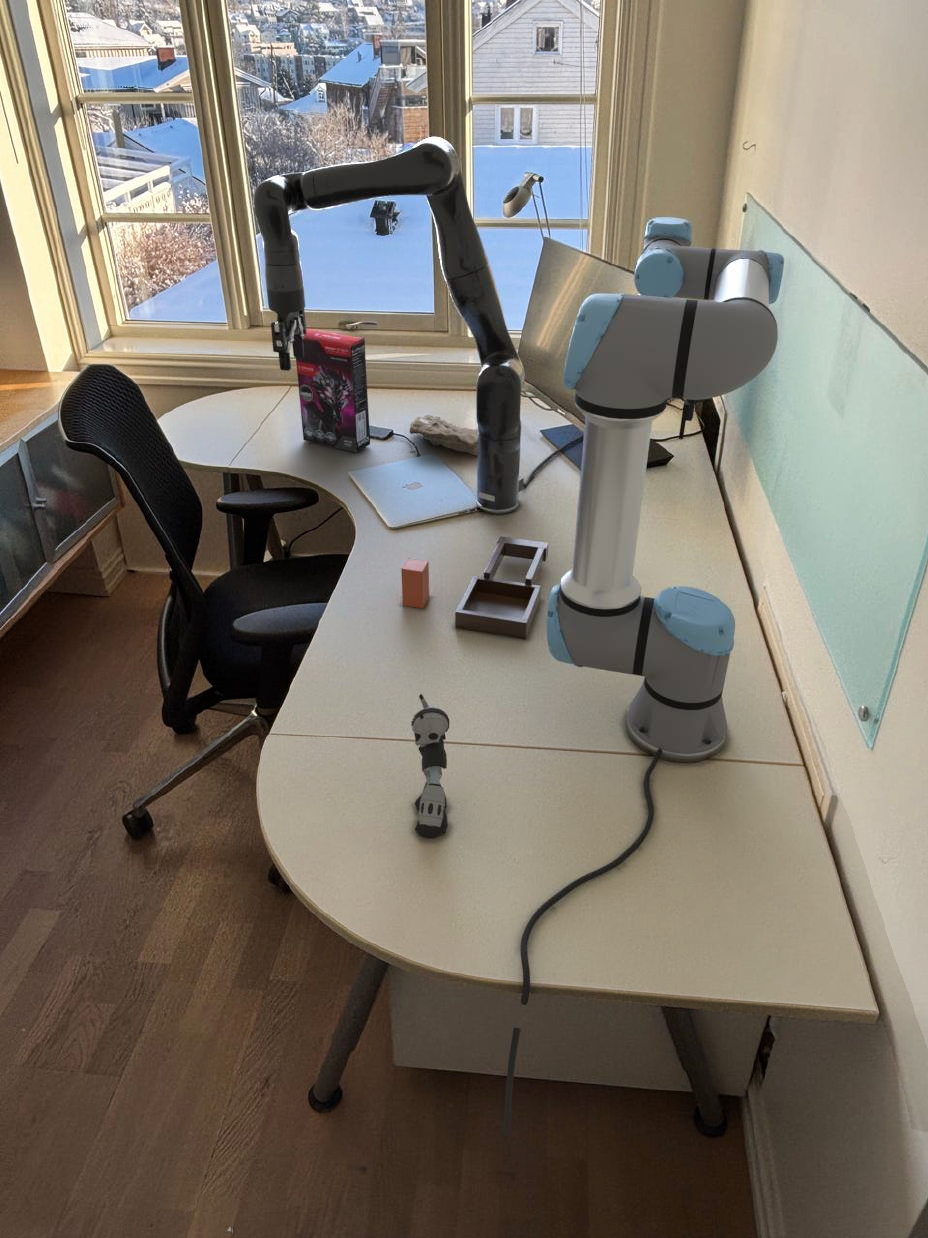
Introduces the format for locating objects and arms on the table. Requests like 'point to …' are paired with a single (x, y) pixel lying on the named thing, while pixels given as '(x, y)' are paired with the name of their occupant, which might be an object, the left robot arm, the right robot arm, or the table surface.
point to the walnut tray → (503, 593)
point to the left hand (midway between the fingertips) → (292, 363)
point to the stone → (446, 434)
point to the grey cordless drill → (431, 769)
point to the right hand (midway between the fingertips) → (643, 432)
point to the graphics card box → (334, 390)
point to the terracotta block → (415, 583)
